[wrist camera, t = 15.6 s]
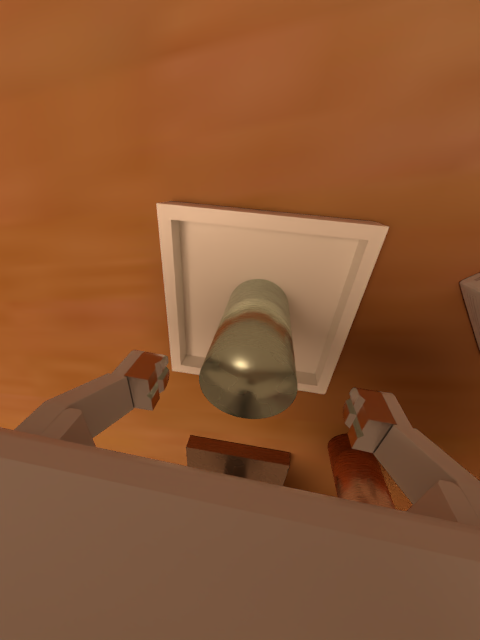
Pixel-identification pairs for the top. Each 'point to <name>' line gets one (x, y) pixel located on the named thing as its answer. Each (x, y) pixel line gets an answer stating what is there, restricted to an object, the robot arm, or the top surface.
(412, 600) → the robot arm
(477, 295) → the supplement box
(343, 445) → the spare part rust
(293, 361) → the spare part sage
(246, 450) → the mounted unit
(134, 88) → the top surface
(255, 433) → the top surface
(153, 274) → the top surface
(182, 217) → the tray
